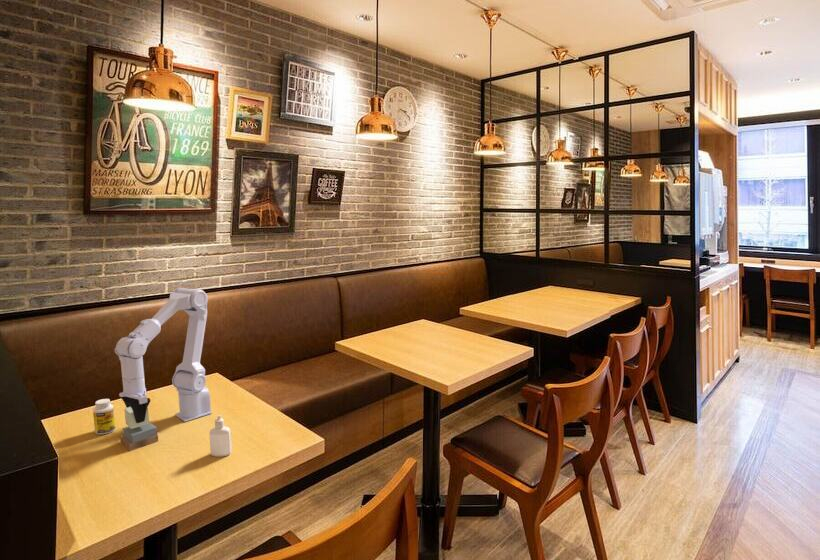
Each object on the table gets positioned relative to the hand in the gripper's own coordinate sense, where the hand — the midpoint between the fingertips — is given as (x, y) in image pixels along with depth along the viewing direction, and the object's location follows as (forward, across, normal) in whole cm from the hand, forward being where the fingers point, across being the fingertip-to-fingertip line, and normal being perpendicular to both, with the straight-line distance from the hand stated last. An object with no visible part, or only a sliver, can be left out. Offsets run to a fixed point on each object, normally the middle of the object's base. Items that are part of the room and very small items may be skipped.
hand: (137, 419), depth 148 cm
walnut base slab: (+8, 0, 0) cm, 8 cm away
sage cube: (+2, 0, 0) cm, 2 cm away
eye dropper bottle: (+8, +25, +14) cm, 30 cm away
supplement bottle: (+8, -15, -5) cm, 18 cm away
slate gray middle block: (+6, 0, 0) cm, 6 cm away
